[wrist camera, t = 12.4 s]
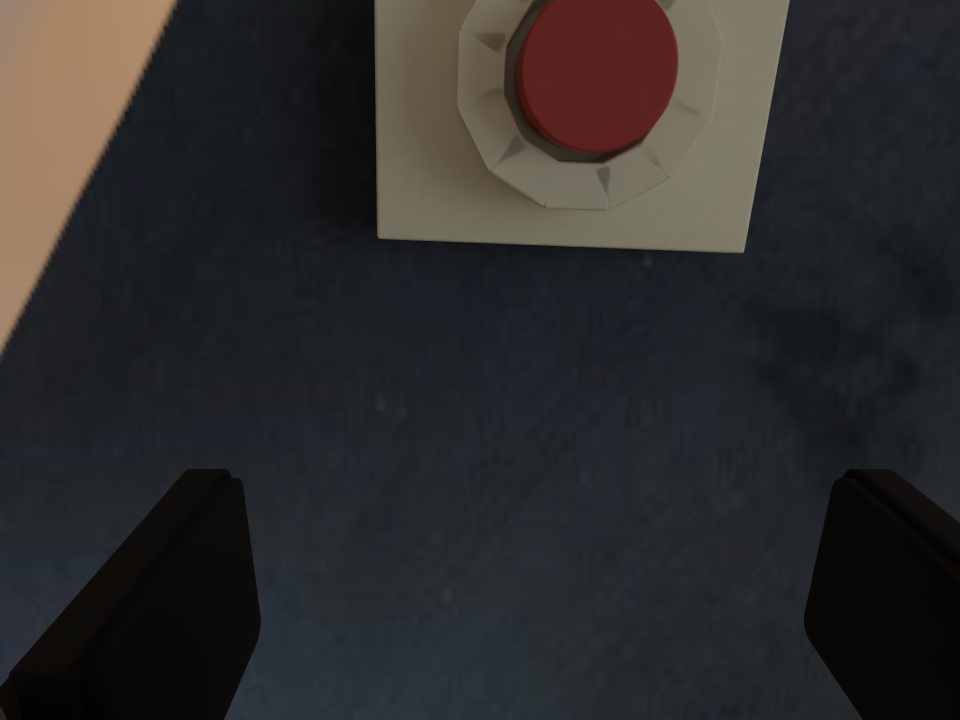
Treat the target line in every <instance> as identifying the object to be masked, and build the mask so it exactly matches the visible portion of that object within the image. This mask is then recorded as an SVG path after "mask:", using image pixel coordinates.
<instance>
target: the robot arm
mask: <svg viewBox="0 0 960 720" xmlns="http://www.w3.org/2000/svg"><path fill="white" fill-rule="evenodd" d="M260 625H261V618H260V609H259V602H258V594H257V587H256V579H255V572H254V564H253V557H252V549H251V542H250V534H249V527H248V519H247V512H246V504H245V497H244V489H243V484H242V482H241V480H240V479H239V478H232V477H231V474H230V472H229V471H228V470H227V469H188V470H187V471H185V472H184V473H183V474H182V476H181V477H180V478H179V479H178V480H177V481H176V482H175V484H174V485H173V486H172V487H171V488H170V489H169V490H168V492H167V493H166V494H165V495H164V496H163V497H162V498H161V500H160V501H159V502H158V503H157V504H156V505H155V506H154V508H153V509H152V510H151V511H150V512H149V513H148V514H147V516H146V517H145V518H144V519H143V520H142V521H141V523H140V524H139V525H138V526H137V527H136V528H135V529H134V531H133V532H132V533H131V534H130V535H129V536H128V537H127V539H126V540H125V541H124V542H123V543H122V544H121V545H120V547H119V548H118V549H117V550H116V551H115V552H114V553H113V555H112V556H111V557H110V558H109V559H108V560H107V562H106V563H105V564H104V565H103V566H102V567H101V568H100V570H99V571H98V572H97V573H96V574H95V575H94V576H93V578H92V579H91V580H90V581H89V582H88V583H87V584H86V586H85V587H84V588H83V589H82V590H81V591H80V592H79V594H78V595H77V596H76V597H75V598H74V599H73V600H72V602H71V603H70V604H69V605H68V606H67V607H66V609H65V610H64V611H63V612H62V613H61V614H60V615H59V617H58V618H57V619H56V620H55V621H54V622H53V623H52V625H51V626H50V627H49V628H48V629H47V630H46V631H45V633H44V634H43V635H42V636H41V637H40V638H39V639H38V641H37V642H36V643H35V644H34V645H33V646H32V647H31V649H30V650H29V651H28V652H27V653H26V654H25V656H24V657H23V658H22V659H21V660H20V661H19V662H18V664H17V665H16V666H15V667H14V668H13V669H12V670H11V672H10V673H9V675H10V676H9V677H8V679H7V680H6V681H5V682H4V683H3V684H2V685H1V687H0V720H224V718H225V716H226V714H227V711H228V709H229V707H230V704H231V702H232V700H233V697H234V695H235V693H236V690H237V688H238V686H239V683H240V681H241V679H242V676H243V674H244V672H245V669H246V667H247V665H248V662H249V660H250V658H251V655H252V653H253V651H254V648H255V646H256V644H257V641H258V637H259V633H260ZM804 626H805V631H806V634H807V636H808V639H809V640H810V642H811V644H812V645H813V647H814V648H815V650H816V651H817V653H818V654H819V655H820V657H821V658H822V660H823V661H824V663H825V664H826V666H827V667H828V669H829V670H830V672H831V673H832V675H833V676H834V678H835V679H836V681H837V682H838V684H839V685H840V686H841V688H842V689H843V691H844V692H845V694H846V695H847V697H848V698H849V700H850V701H851V703H852V704H853V706H854V707H855V709H856V710H857V712H858V713H859V715H860V716H861V718H862V719H863V720H960V523H959V522H958V521H957V520H956V519H954V518H953V517H952V516H950V515H949V514H948V513H947V512H945V511H944V510H943V509H942V508H940V507H939V506H938V505H936V504H935V503H934V502H933V501H931V500H930V499H929V498H927V497H926V496H925V495H924V494H922V493H921V492H920V491H918V490H917V489H916V488H915V487H913V486H912V485H911V484H909V483H908V482H907V481H906V480H904V479H903V478H902V477H900V476H899V475H898V474H897V473H895V472H893V471H892V470H889V469H851V470H849V471H847V472H846V473H845V474H844V475H843V478H839V479H837V480H836V481H835V482H834V484H833V486H832V490H831V495H830V499H829V504H828V508H827V513H826V518H825V522H824V527H823V531H822V536H821V540H820V545H819V550H818V554H817V559H816V563H815V568H814V573H813V577H812V582H811V586H810V591H809V595H808V600H807V605H806V609H805V614H804Z"/></svg>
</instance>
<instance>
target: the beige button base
mask: <svg viewBox="0 0 960 720" xmlns="http://www.w3.org/2000/svg"><path fill="white" fill-rule="evenodd" d="M550 1H551V0H374V13H375V98H376V184H377V236H378V238H380V239H396V240H421V241H446V242H471V243H496V244H522V245H547V246H572V247H597V248H623V249H648V250H673V251H698V252H723V253H742V252H744V248H745V243H746V237H747V232H748V226H749V221H750V215H751V210H752V204H753V199H754V193H755V188H756V182H757V177H758V171H759V166H760V160H761V155H762V149H763V143H764V138H765V132H766V127H767V121H768V116H769V110H770V105H771V99H772V94H773V88H774V83H775V77H776V72H777V66H778V61H779V55H780V50H781V44H782V39H783V33H784V28H785V22H786V17H787V11H788V6H789V0H655V1H656V2H657V3H658V4H659V6H660V7H661V8H662V9H663V11H664V12H665V14H666V16H667V17H668V19H669V21H670V23H671V25H672V28H673V31H674V34H675V37H676V41H677V47H678V60H679V63H678V75H677V80H676V85H675V88H674V91H673V94H672V97H671V99H670V101H669V104H668V106H667V107H666V109H665V111H664V112H663V114H662V116H661V117H660V118H659V120H658V121H657V122H656V124H655V125H654V126H653V127H652V128H651V129H650V130H649V131H648V132H647V133H645V134H644V135H643V136H642V137H640V138H639V139H638V140H636V141H634V142H633V143H631V144H629V145H627V146H625V147H623V148H620V149H617V150H614V151H609V152H603V153H586V152H576V151H569V150H566V149H562V148H560V147H557V146H555V145H553V144H551V143H549V142H548V141H546V140H545V139H544V138H542V137H541V136H540V135H539V134H538V133H537V132H536V131H535V130H534V129H533V128H532V127H531V125H530V124H529V123H528V121H527V120H526V118H525V116H524V114H523V112H522V110H521V107H520V105H519V102H518V98H517V94H516V86H515V69H516V61H517V57H518V53H519V50H520V47H521V45H522V42H523V40H524V38H525V36H526V34H527V32H528V31H529V29H530V27H531V25H532V24H533V22H534V20H535V19H536V17H537V16H538V14H539V13H540V12H541V10H542V9H543V8H544V7H545V6H546V5H547V4H548V3H549V2H550Z"/></svg>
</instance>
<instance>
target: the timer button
mask: <svg viewBox="0 0 960 720" xmlns="http://www.w3.org/2000/svg"><path fill="white" fill-rule="evenodd" d="M678 63H679V60H678V47H677V41H676V37H675V34H674V31H673V28H672V25H671V23H670V21H669V19H668V17H667V16H666V14H665V12H664V11H663V9H662V8H661V7H660V6H659V4H658V3H657V2H656V1H655V0H551V1H550V2H549V3H548V4H547V5H546V6H545V7H544V8H543V9H542V10H541V12H540V13H539V14H538V16H537V17H536V19H535V20H534V22H533V24H532V25H531V27H530V29H529V31H528V32H527V34H526V36H525V38H524V40H523V42H522V45H521V47H520V50H519V53H518V57H517V61H516V69H515V86H516V94H517V98H518V102H519V105H520V107H521V110H522V112H523V114H524V116H525V118H526V120H527V121H528V123H529V124H530V125H531V127H532V128H533V129H534V130H535V131H536V132H537V133H538V134H539V135H540V136H541V137H542V138H544V139H545V140H546V141H548V142H549V143H551V144H553V145H555V146H557V147H560V148H562V149H566V150H569V151H576V152H586V153H603V152H609V151H614V150H617V149H620V148H623V147H625V146H627V145H629V144H631V143H633V142H634V141H636V140H638V139H639V138H640V137H642V136H643V135H644V134H645V133H647V132H648V131H649V130H650V129H651V128H652V127H653V126H654V125H655V124H656V122H657V121H658V120H659V118H660V117H661V116H662V114H663V112H664V111H665V109H666V107H667V106H668V104H669V101H670V99H671V97H672V94H673V91H674V88H675V85H676V80H677V75H678Z"/></svg>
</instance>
